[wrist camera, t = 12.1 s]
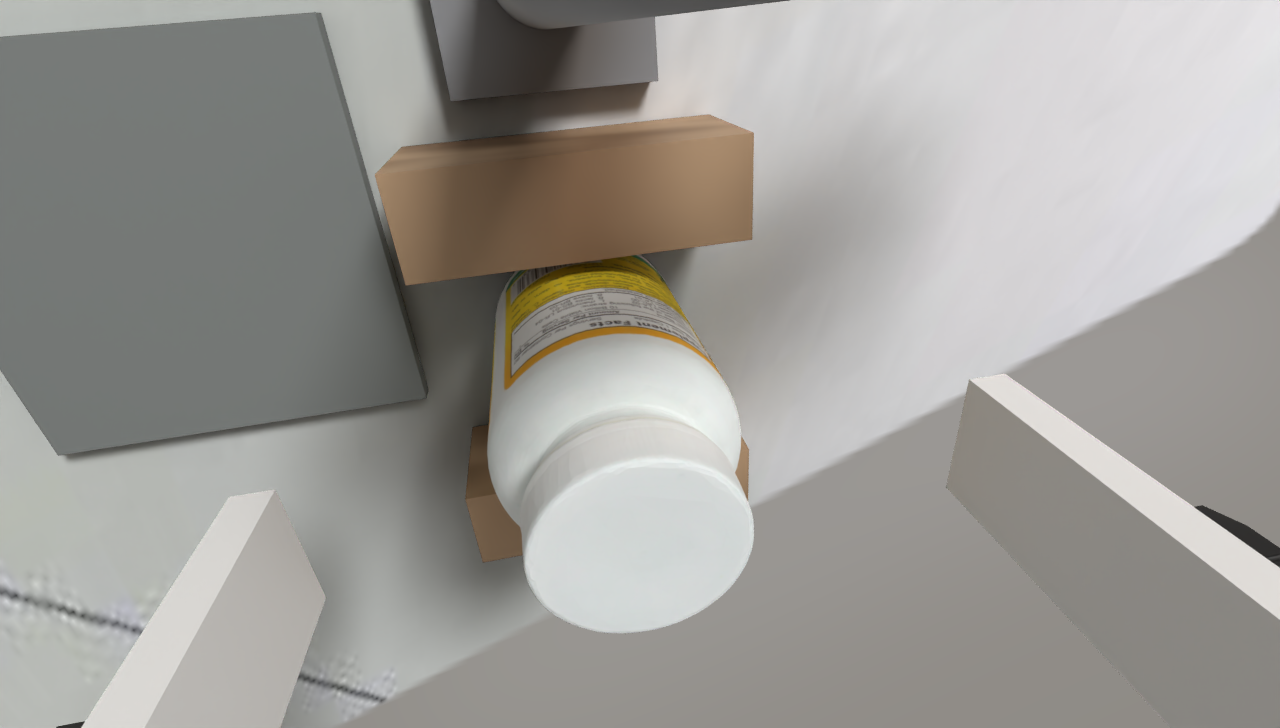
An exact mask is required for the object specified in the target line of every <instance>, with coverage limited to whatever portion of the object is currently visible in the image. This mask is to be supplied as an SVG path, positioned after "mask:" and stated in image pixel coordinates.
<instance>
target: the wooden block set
mask: <svg viewBox="0 0 1280 728" xmlns="http://www.w3.org/2000/svg"><path fill="white" fill-rule="evenodd" d="M430 4H431V9H432V14H433V18H434V23H435V28H436V33H437V38H438V42H439V47H440V52H441V57H442V62H443V66H444V71H445V76H446V81H447V86H448V91H449V95H450V100H451V101H458V100H468V99H478V98H489V97H499V96H509V95H519V94H530V93H540V92H550V91H561V90H571V89H581V88H591V87H602V86H612V85H622V84H632V83H643V82H653V81H658V68H657V50H656V31H655V17H647V18H639V19H630V20H622V21H614V22H605V23H597V24H589V25H581V26H572V27H564V28H556V29H536V28H532V27H529V26H526V25H524V24H522V23H520V22H518V21H517V20H515V19H514V18H512V17H511V16H510V15H509V14H508V13H507V12H506V11H505V10H504V9H503V8H502V7H501V5H500V4H499V3H498V1H497V0H430ZM753 150H754V133H753V132H750V131H748V130H745V129H743V128H741V127H738V126H736V125H733V124H731V123H728V122H726V121H723V120H721V119H719V118H716V117H714V116H711V115H700V116H691V117H681V118H672V119H662V120H653V121H643V122H634V123H624V124H615V125H605V126H596V127H586V128H577V129H567V130H558V131H548V132H539V133H530V134H520V135H511V136H501V137H492V138H482V139H473V140H463V141H454V142H444V143H435V144H425V145H416V146H406V147H401V148H400V149H399V150H398V151H397V152H396V153H395V154H394V155H393V156H392V157H391V158H390V160H389V161H388V162H387V163H386V164H385V165H384V166H383V167H382V168H381V169H380V170H379V171H378V172H377V173H376V174H375V178H376V181H377V185H378V188H379V192H380V195H381V199H382V203H383V206H384V210H385V213H386V217H387V220H388V224H389V228H390V231H391V235H392V238H393V242H394V246H395V249H396V253H397V256H398V260H399V263H400V267H401V271H402V274H403V278H404V281H405V285H414V284H421V283H429V282H436V281H444V280H451V279H459V278H466V277H474V276H481V275H489V274H497V273H504V272H512V271H519V270H527V269H534V268H542V267H549V266H557V265H564V264H572V263H579V262H587V261H594V260H602V259H609V258H617V257H624V256H632V255H639V254H647V253H654V252H662V251H670V250H677V249H685V248H692V247H700V246H707V245H715V244H722V243H730V242H737V241H745V240H752V213H753ZM488 430H489V425H484V426H478V427H472V437H471V448H470V458H469V468H468V478H467V488H466V498H465V500H466V503H467V507H468V511H469V514H470V518H471V521H472V525H473V529H474V532H475V536H476V539H477V543H478V546H479V550H480V554H481V557H482V561H483V563H484V562H489V561H494V560H500V559H505V558H510V557H515V556H521V555H523V552H522V533H521V528H520V526H519V525H518V524H517V523H516V522H515V521H514V520H513V519H512V518H511V517H510V516H509V514H508V513H507V512H506V510H505V509H504V507H503V506H502V504H501V502H500V500H499V498H498V496H497V494H496V492H495V489H494V487H493V484H492V481H491V477H490V472H489V468H488V456H487V444H488ZM748 469H749V449H748V447H747V445H746V443H745V442H744V440H743V438H742V436H741V450H740V456H739V461H738V465H737V469H736V471H735V474H736V476H737V478H738V480H739V482H740V485H741V487H742V489H743V491H744V494H745V496H746V498H747V501H748Z"/></svg>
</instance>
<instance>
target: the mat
mask: <svg viewBox="0 0 1280 728" xmlns="http://www.w3.org/2000/svg"><path fill="white" fill-rule="evenodd" d="M0 370H1V372H2V373H3V375H4V376H5V378H6V379H7V381H8V382H9V383H10V385H11V386H12V388H13V389H14V391H15V392H16V394H17V395H18V397H19V398H20V400H21V401H22V403H23V404H24V406H25V407H26V409H27V410H28V412H29V413H30V415H31V416H32V418H33V419H34V421H35V422H36V424H37V425H38V427H39V428H40V430H41V431H42V432H43V434H44V435H45V437H46V438H47V440H48V441H49V443H50V444H51V446H52V447H53V449H54V450H55V452H56V453H57V455H58V456H59V455H65V454H72V453H78V452H85V451H91V450H97V449H104V448H110V447H117V446H123V445H129V444H136V443H142V442H149V441H155V440H162V439H168V438H174V437H181V436H187V435H194V434H200V433H206V432H213V431H219V430H226V429H232V428H239V427H245V426H251V425H258V424H264V423H271V422H277V421H283V420H290V419H296V418H303V417H309V416H316V415H322V414H328V413H335V412H341V411H348V410H354V409H360V408H367V407H373V406H380V405H386V404H393V403H399V402H405V401H412V400H418V399H425V398H427V394H428V387H427V383H426V380H425V376H424V373H423V369H422V366H421V362H420V359H419V355H418V352H417V348H416V344H415V341H414V337H413V334H412V330H411V327H410V323H409V320H408V316H407V313H406V309H405V306H404V302H403V299H402V295H401V292H400V288H399V285H398V281H397V278H396V274H395V271H394V267H393V264H392V260H391V257H390V253H389V250H388V246H387V243H386V239H385V236H384V232H383V229H382V225H381V222H380V218H379V215H378V211H377V208H376V204H375V201H374V197H373V194H372V190H371V187H370V183H369V180H368V176H367V173H366V169H365V166H364V162H363V159H362V155H361V152H360V148H359V145H358V141H357V138H356V134H355V131H354V127H353V124H352V120H351V117H350V113H349V110H348V106H347V103H346V99H345V96H344V92H343V88H342V85H341V81H340V78H339V74H338V71H337V67H336V64H335V60H334V57H333V53H332V50H331V46H330V43H329V39H328V36H327V32H326V29H325V25H324V22H323V18H322V15H321V13H315V12H314V13H301V14H288V15H276V16H263V17H250V18H237V19H224V20H211V21H198V22H185V23H172V24H160V25H147V26H134V27H121V28H108V29H95V30H82V31H69V32H57V33H44V34H31V35H18V36H5V37H0Z"/></svg>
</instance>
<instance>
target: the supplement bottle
mask: <svg viewBox="0 0 1280 728" xmlns="http://www.w3.org/2000/svg"><path fill="white" fill-rule="evenodd" d="M740 450H741V428H740V421H739V414H738V411H737V408H736V405H735V402H734V399H733V397H732V395H731V393H730V391H729V389H728V387H727V385H726V383H725V382H724V380H723V378H722V377H721V375H720V373H719V371H718V370H717V368H716V367H715V365H714V363H713V362H712V360H711V358H710V356H709V355H708V353H707V352H706V350H705V349H704V347H703V345H702V343H701V342H700V340H699V338H698V337H697V335H696V333H695V332H694V330H693V328H692V327H691V325H690V323H689V322H688V320H687V318H686V317H685V315H684V313H683V312H682V310H681V308H680V307H679V305H678V303H677V302H676V300H675V299H674V297H673V295H672V293H671V292H670V290H669V288H668V287H667V285H666V283H665V282H664V280H663V278H662V277H661V276H660V274H659V273H658V272H657V270H656V269H655V268H654V267H653V266H652V264H651V263H650V262H649V261H647V260H646V259H645V258H644V257H643V256H641V255H640V254H639V255H632V256H624V257H617V258H609V259H602V260H594V261H587V262H579V263H572V264H564V265H557V266H549V267H542V268H534V269H527V270H519V271H515V272H514V274H513V275H512V276H511V278H510V279H509V281H508V282H507V284H506V286H505V287H504V289H503V292H502V294H501V296H500V299H499V302H498V306H497V311H496V319H495V332H494V350H493V367H492V385H491V399H490V413H489V430H488V444H487V456H488V468H489V472H490V477H491V481H492V484H493V487H494V489H495V492H496V494H497V496H498V498H499V500H500V502H501V504H502V506H503V507H504V509H505V510H506V512H507V513H508V514H509V516H510V517H511V518H512V519H513V520H514V521H515V522H516V523H517V524H518V525H519V526H520V528H521V533H522V552H523V566H524V570H525V574H526V578H527V581H528V584H529V586H530V588H531V590H532V592H533V593H534V595H535V597H536V598H537V599H538V600H539V602H540V603H541V604H542V605H543V606H544V607H545V608H546V609H547V610H548V611H550V612H551V613H552V614H554V615H555V616H557V617H558V618H560V619H562V620H564V621H565V622H567V623H569V624H573V625H575V626H577V627H580V628H584V629H588V630H592V631H597V632H604V633H635V632H644V631H648V630H654V629H660V628H664V627H667V626H670V625H673V624H675V623H678V622H681V621H683V620H685V619H687V618H689V617H691V616H693V615H695V614H697V613H699V612H700V611H702V610H704V609H705V608H707V607H708V606H709V605H710V604H712V603H713V602H715V601H716V600H717V599H718V598H720V597H721V596H722V595H723V594H724V593H725V592H726V591H727V590H728V589H729V588H730V587H731V586H732V585H733V583H734V582H735V581H736V580H737V578H738V577H739V575H740V574H741V573H742V571H743V569H744V567H745V565H746V563H747V561H748V559H749V556H750V553H751V550H752V546H753V540H754V522H753V517H752V511H751V508H750V506H749V503H748V501H747V498H746V496H745V494H744V491H743V489H742V487H741V485H740V482H739V480H738V478H737V476H736V474H735V471H736V469H737V465H738V461H739V456H740Z"/></svg>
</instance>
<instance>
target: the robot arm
mask: <svg viewBox="0 0 1280 728" xmlns="http://www.w3.org/2000/svg"><path fill="white" fill-rule="evenodd" d="M946 488H947V489H948V490H949V491H950V492H951V493H952V494H953V495H954V496H955V497H956V498H957V499H958V501H959V502H960V503H961V504H962V505H963V506H964V507H965V508H966V509H967V510H968V511H969V512H970V514H971V515H972V516H973V517H974V518H975V519H976V520H977V521H978V522H979V523H980V524H981V525H982V526H983V527H984V529H985V530H986V531H987V532H988V533H989V534H990V535H991V536H992V537H993V538H994V539H995V540H996V541H997V542H998V544H999V545H1000V546H1001V547H1002V548H1003V549H1004V550H1005V551H1006V552H1007V553H1008V554H1009V555H1010V556H1011V558H1012V559H1013V560H1014V561H1015V562H1016V563H1017V564H1018V565H1019V566H1020V567H1021V568H1022V569H1023V570H1024V571H1025V573H1026V574H1027V575H1028V576H1029V577H1030V578H1031V579H1032V580H1033V581H1034V582H1035V583H1036V584H1037V585H1038V586H1039V588H1041V590H1042V591H1043V592H1044V593H1045V594H1046V595H1047V596H1048V597H1049V598H1050V599H1051V600H1052V602H1054V604H1055V605H1056V606H1057V607H1058V608H1059V609H1060V610H1061V611H1062V612H1063V613H1064V614H1065V615H1066V616H1067V618H1068V619H1069V620H1070V621H1071V622H1072V623H1073V624H1074V625H1075V626H1076V627H1077V628H1078V629H1079V630H1080V632H1081V633H1082V634H1083V635H1084V636H1085V637H1086V638H1087V639H1088V640H1089V641H1090V642H1091V643H1092V644H1093V645H1094V647H1095V648H1096V649H1097V650H1098V651H1099V652H1100V653H1101V654H1102V655H1103V656H1104V657H1105V658H1106V659H1107V660H1108V661H1109V663H1110V664H1111V665H1112V666H1113V667H1114V668H1115V669H1116V670H1117V671H1118V672H1119V673H1120V674H1121V675H1122V677H1123V678H1124V679H1125V680H1126V681H1127V682H1128V683H1129V684H1130V685H1131V686H1132V687H1133V688H1134V689H1135V690H1136V692H1138V694H1139V695H1140V696H1141V697H1142V698H1143V699H1144V700H1145V701H1146V702H1147V703H1148V704H1149V705H1150V707H1151V708H1152V709H1153V710H1154V711H1155V712H1156V713H1157V714H1158V715H1159V716H1160V717H1161V718H1162V719H1163V721H1164V722H1165V723H1166V724H1167V725H1168V726H1169V727H1170V728H1280V548H1279V547H1278V546H1276V545H1274V544H1273V543H1272V542H1270V541H1269V540H1267V539H1266V538H1264V537H1263V536H1261V535H1260V534H1258V533H1257V532H1255V531H1254V530H1253V529H1251V528H1250V527H1248V526H1246V525H1244V524H1242V523H1240V522H1238V521H1235V520H1233V519H1231V518H1229V517H1227V516H1224V515H1222V514H1220V513H1218V512H1216V511H1214V510H1211V509H1209V508H1207V507H1204V506H1197V507H1193V506H1191V505H1190V504H1188V503H1187V502H1186V501H1184V500H1183V499H1181V498H1180V497H1179V496H1177V495H1176V494H1174V493H1173V492H1172V491H1170V490H1169V489H1167V488H1166V487H1165V486H1163V485H1162V484H1160V483H1159V482H1157V481H1156V480H1155V479H1153V478H1152V477H1150V476H1149V475H1148V474H1146V473H1145V472H1143V471H1142V470H1140V469H1139V468H1138V467H1136V466H1135V465H1133V464H1132V463H1130V462H1129V461H1128V460H1126V459H1125V458H1123V457H1122V456H1121V455H1119V454H1118V453H1116V452H1115V451H1113V450H1112V449H1111V448H1109V447H1108V446H1106V445H1105V444H1103V443H1102V442H1101V441H1099V440H1098V439H1096V438H1095V437H1093V436H1092V435H1091V434H1089V433H1088V432H1086V431H1085V430H1084V429H1082V428H1081V427H1079V426H1078V425H1077V424H1075V423H1074V422H1072V421H1071V420H1069V419H1068V418H1067V417H1065V416H1064V415H1062V414H1061V413H1060V412H1058V411H1057V410H1055V409H1054V408H1052V407H1051V406H1050V405H1048V404H1047V403H1045V402H1044V401H1043V400H1041V399H1040V398H1038V397H1037V396H1035V395H1034V394H1033V393H1031V392H1030V391H1028V390H1027V389H1025V388H1024V387H1023V386H1021V385H1020V384H1018V383H1017V382H1016V381H1014V380H1013V379H1011V378H1010V377H1008V376H1007V375H1006V374H1000V375H994V376H988V377H982V378H975V379H969V383H968V387H967V392H966V397H965V401H964V406H963V410H962V415H961V420H960V424H959V429H958V434H957V438H956V443H955V448H954V452H953V457H952V462H951V466H950V471H949V476H948V480H947V485H946ZM325 600H326V596H325V594H324V592H323V590H322V588H321V586H320V584H319V581H318V579H317V577H316V575H315V573H314V571H313V569H312V567H311V564H310V562H309V560H308V558H307V556H306V554H305V552H304V550H303V547H302V545H301V543H300V541H299V539H298V537H297V535H296V533H295V530H294V528H293V526H292V524H291V522H290V520H289V518H288V515H287V513H286V511H285V509H284V507H283V505H282V503H281V501H280V498H279V496H278V494H277V492H276V490H269V491H263V492H257V493H250V494H244V495H238V496H231V497H229V498H228V499H227V501H226V502H225V504H224V506H223V507H222V509H221V510H220V512H219V513H218V515H217V517H216V518H215V520H214V521H213V523H212V524H211V526H210V527H209V529H208V531H207V532H206V534H205V535H204V537H203V538H202V540H201V541H200V543H199V545H198V546H197V548H196V549H195V551H194V552H193V554H192V556H191V557H190V559H189V560H188V562H187V563H186V565H185V566H184V568H183V570H182V571H181V573H180V574H179V576H178V577H177V579H176V580H175V582H174V584H173V585H172V587H171V588H170V590H169V591H168V593H167V595H166V596H165V598H164V599H163V601H162V602H161V604H160V605H159V607H158V609H157V610H156V612H155V613H154V615H153V616H152V618H151V620H150V621H149V623H148V624H147V626H146V627H145V629H144V630H143V632H142V634H141V635H140V637H139V638H138V640H137V641H136V643H135V644H134V646H133V648H132V649H131V651H130V652H129V654H128V655H127V657H126V659H125V660H124V662H123V663H122V665H121V666H120V668H119V669H118V671H117V673H116V674H115V676H114V677H113V679H112V680H111V682H110V683H109V685H108V687H107V688H106V690H105V691H104V693H103V694H102V696H101V698H100V699H99V701H98V702H97V704H96V705H95V707H94V708H93V710H92V712H91V713H90V715H89V716H88V718H87V719H86V721H84V722H79V723H73V724H68V725H63V726H58V727H56V728H280V727H281V724H282V721H283V719H284V716H285V713H286V710H287V707H288V704H289V702H290V699H291V696H292V693H293V690H294V687H295V685H296V682H297V679H298V676H299V673H300V670H301V668H302V665H303V662H304V659H305V656H306V654H307V651H308V648H309V645H310V642H311V639H312V637H313V634H314V631H315V628H316V625H317V622H318V620H319V617H320V614H321V611H322V608H323V605H324V603H325Z"/></svg>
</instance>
